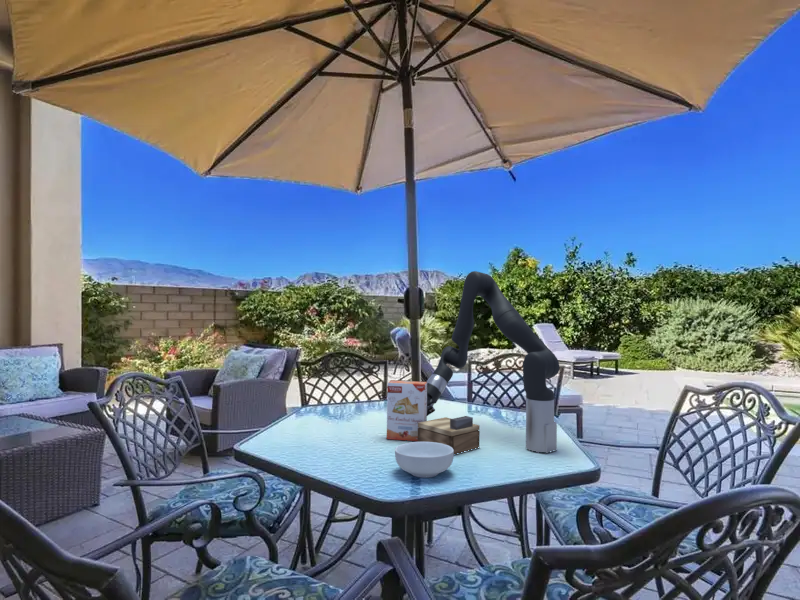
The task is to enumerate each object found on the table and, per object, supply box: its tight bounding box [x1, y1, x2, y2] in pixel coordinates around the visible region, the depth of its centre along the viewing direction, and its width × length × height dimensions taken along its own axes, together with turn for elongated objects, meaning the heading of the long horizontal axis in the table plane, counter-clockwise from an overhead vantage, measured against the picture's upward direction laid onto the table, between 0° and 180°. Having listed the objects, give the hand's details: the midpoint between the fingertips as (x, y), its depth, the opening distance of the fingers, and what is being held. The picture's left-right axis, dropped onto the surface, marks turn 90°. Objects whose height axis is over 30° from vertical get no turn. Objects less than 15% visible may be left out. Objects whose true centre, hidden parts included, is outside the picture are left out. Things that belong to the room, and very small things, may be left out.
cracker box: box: [386, 379, 428, 442], centre depth 172 cm, size 14×6×21 cm, turn 78°
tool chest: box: [417, 428, 481, 455], centre depth 163 cm, size 16×14×6 cm
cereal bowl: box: [394, 441, 455, 479], centre depth 136 cm, size 17×17×7 cm
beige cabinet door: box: [418, 415, 481, 436], centre depth 163 cm, size 16×14×4 cm
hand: (409, 424), depth 176 cm, fingers closed
